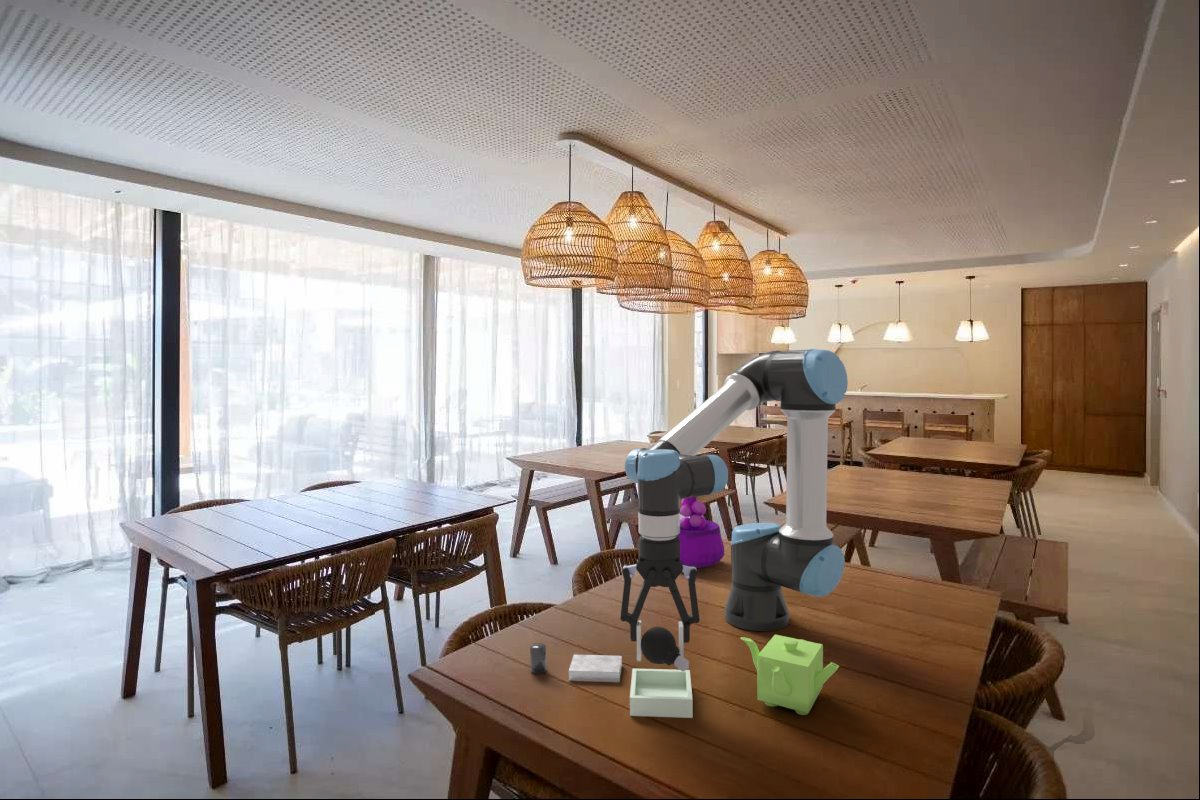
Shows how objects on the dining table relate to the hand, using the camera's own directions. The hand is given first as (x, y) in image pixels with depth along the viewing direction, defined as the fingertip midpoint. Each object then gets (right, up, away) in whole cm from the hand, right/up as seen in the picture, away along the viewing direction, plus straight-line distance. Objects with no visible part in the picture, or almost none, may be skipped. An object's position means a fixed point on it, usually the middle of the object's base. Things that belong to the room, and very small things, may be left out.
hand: (660, 658), depth 119 cm
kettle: (+23, -8, 0) cm, 25 cm away
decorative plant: (+18, -4, +81) cm, 83 cm away
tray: (0, -8, +1) cm, 8 cm away
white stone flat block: (-12, -8, +12) cm, 19 cm away
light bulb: (+1, -1, -2) cm, 2 cm away
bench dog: (-24, -8, +13) cm, 28 cm away
